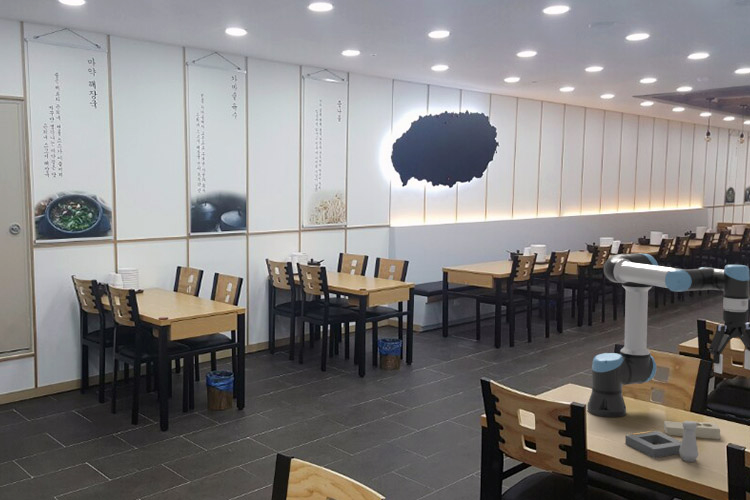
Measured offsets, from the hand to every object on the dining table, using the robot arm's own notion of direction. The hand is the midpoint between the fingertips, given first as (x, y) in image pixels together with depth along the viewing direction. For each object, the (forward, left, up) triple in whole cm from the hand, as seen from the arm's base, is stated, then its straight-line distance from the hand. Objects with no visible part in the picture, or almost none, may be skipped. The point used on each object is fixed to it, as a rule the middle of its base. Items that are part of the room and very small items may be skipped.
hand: (733, 371), depth 229 cm
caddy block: (-10, -23, -28) cm, 38 cm away
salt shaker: (+2, -20, -28) cm, 35 cm away
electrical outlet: (-17, 0, -28) cm, 33 cm away
